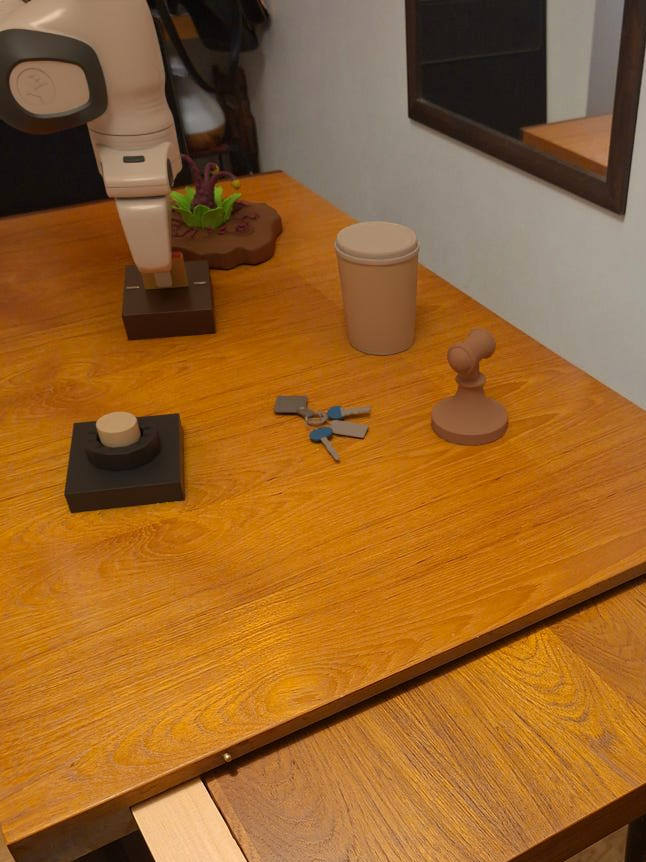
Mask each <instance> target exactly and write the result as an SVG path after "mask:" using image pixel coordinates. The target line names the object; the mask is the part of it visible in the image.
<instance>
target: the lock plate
mask: <svg viewBox="0 0 646 862" xmlns="http://www.w3.org/2000/svg"><path fill="white" fill-rule="evenodd" d="M184 264H185V269H186V274H187V279H188V287H176V288H161V289H147V290H145V287H144V283H143V279H142V274H141V272H140V271H139V270H138V268H137V266H136V265H135V264H126V265H125V266H124V279H123V293H122V305H121V319H122V323H123V327H124V331H125V334H126V338H127V341H132V340H134V341H135V340H146V339H159V338H170V337H171V338H172V337H184V336H199V335H208V334H209V335H211V334H216V333H217V330H216V329H217V328H216V317H215V315H216V314H215V303H214V292H213V291H214V290H213V281H212V275H211V271H210V269H209V264H208V260H202V261H187V262H184Z"/></svg>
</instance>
